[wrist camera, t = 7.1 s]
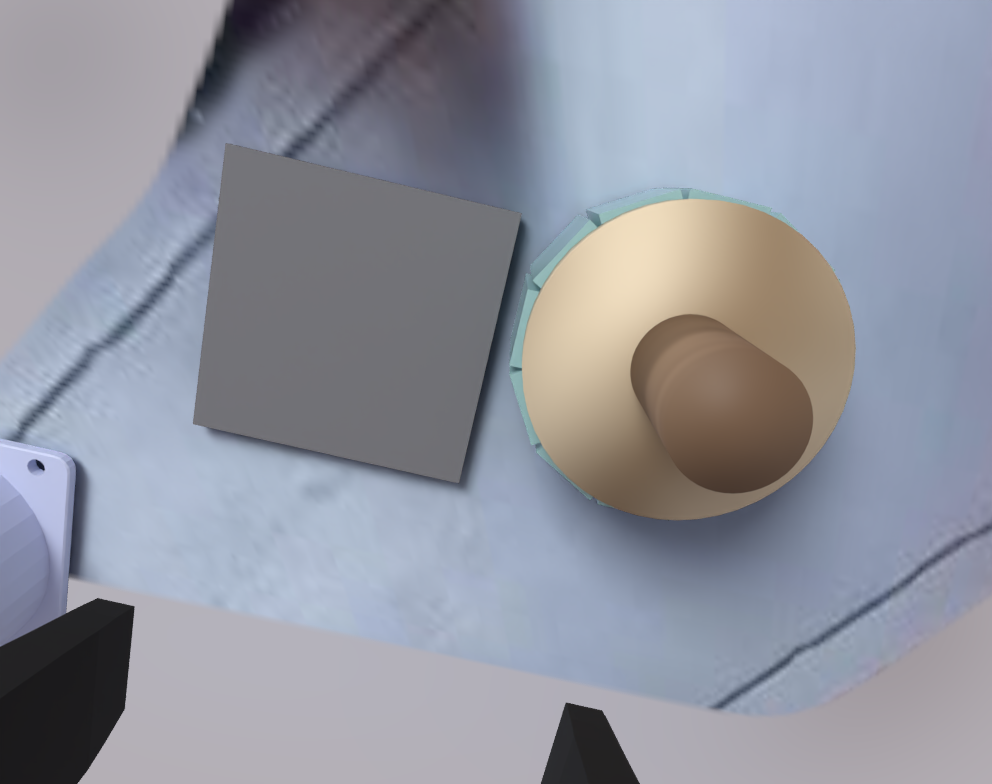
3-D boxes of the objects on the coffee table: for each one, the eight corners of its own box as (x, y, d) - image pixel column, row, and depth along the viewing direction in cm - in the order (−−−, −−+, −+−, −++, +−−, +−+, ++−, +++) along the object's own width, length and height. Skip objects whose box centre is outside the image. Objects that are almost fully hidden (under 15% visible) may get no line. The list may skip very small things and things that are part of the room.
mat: (198, 419, 22) (192, 424, 21) (231, 144, 19) (225, 143, 19) (459, 478, 22) (459, 483, 21) (521, 213, 20) (521, 213, 19)
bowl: (486, 436, 21) (481, 478, 18) (552, 161, 19) (559, 156, 16) (745, 494, 22) (783, 546, 19) (839, 230, 19) (900, 239, 16)
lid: (488, 466, 18) (478, 561, 14) (570, 160, 16) (592, 151, 12) (773, 536, 19) (859, 653, 14) (891, 246, 16) (1037, 270, 12)
